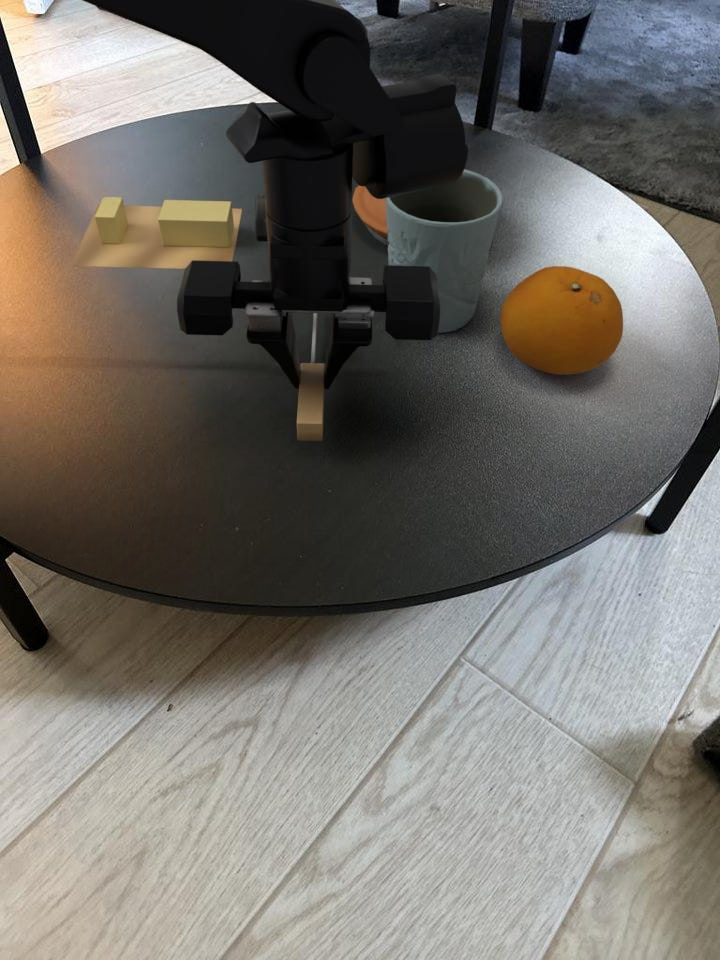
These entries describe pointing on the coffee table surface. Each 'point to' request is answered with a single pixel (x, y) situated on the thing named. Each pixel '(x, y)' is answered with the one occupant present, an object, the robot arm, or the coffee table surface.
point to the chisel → (311, 396)
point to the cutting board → (146, 245)
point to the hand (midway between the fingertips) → (312, 385)
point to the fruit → (562, 320)
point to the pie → (371, 213)
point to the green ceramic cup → (447, 239)
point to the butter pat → (111, 220)
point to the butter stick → (196, 223)
